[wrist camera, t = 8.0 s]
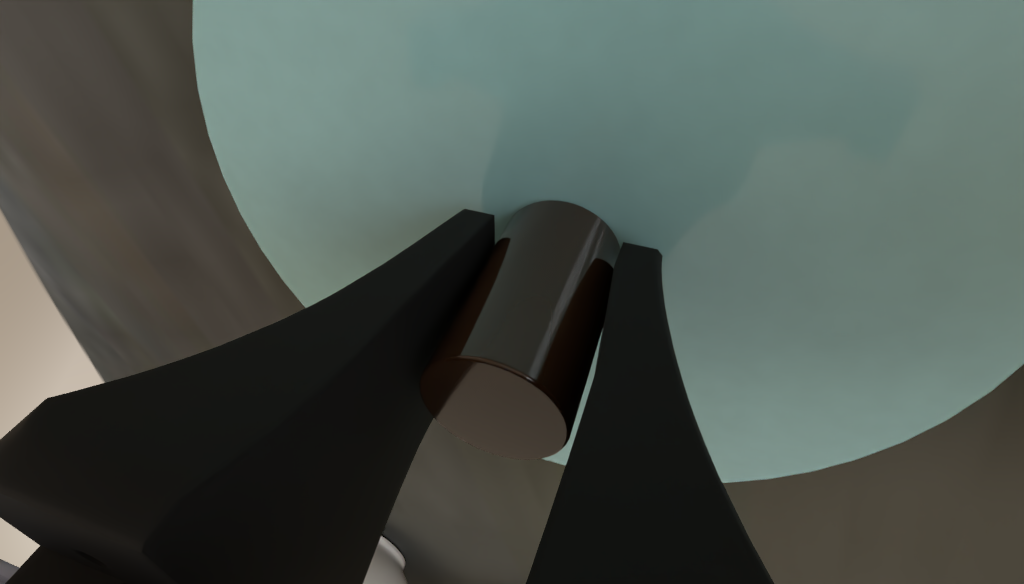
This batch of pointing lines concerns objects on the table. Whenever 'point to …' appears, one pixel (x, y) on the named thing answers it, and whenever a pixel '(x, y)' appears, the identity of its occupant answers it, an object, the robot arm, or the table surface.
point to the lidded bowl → (386, 565)
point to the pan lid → (654, 197)
